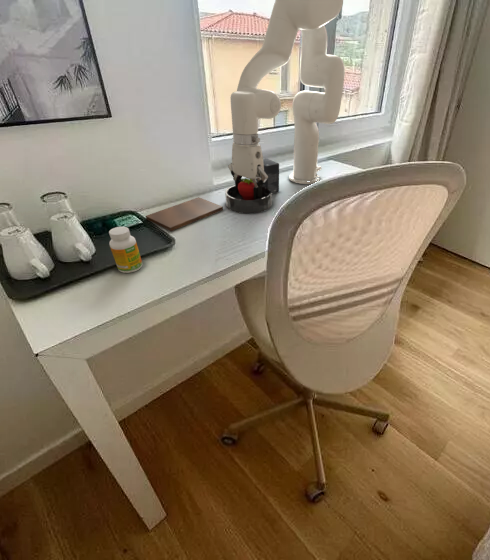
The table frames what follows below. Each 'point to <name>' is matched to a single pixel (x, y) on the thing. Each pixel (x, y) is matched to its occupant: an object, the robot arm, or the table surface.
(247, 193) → the strawberry
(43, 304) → the table surface
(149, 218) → the cutting board
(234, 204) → the pan
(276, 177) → the box
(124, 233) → the supplement bottle
